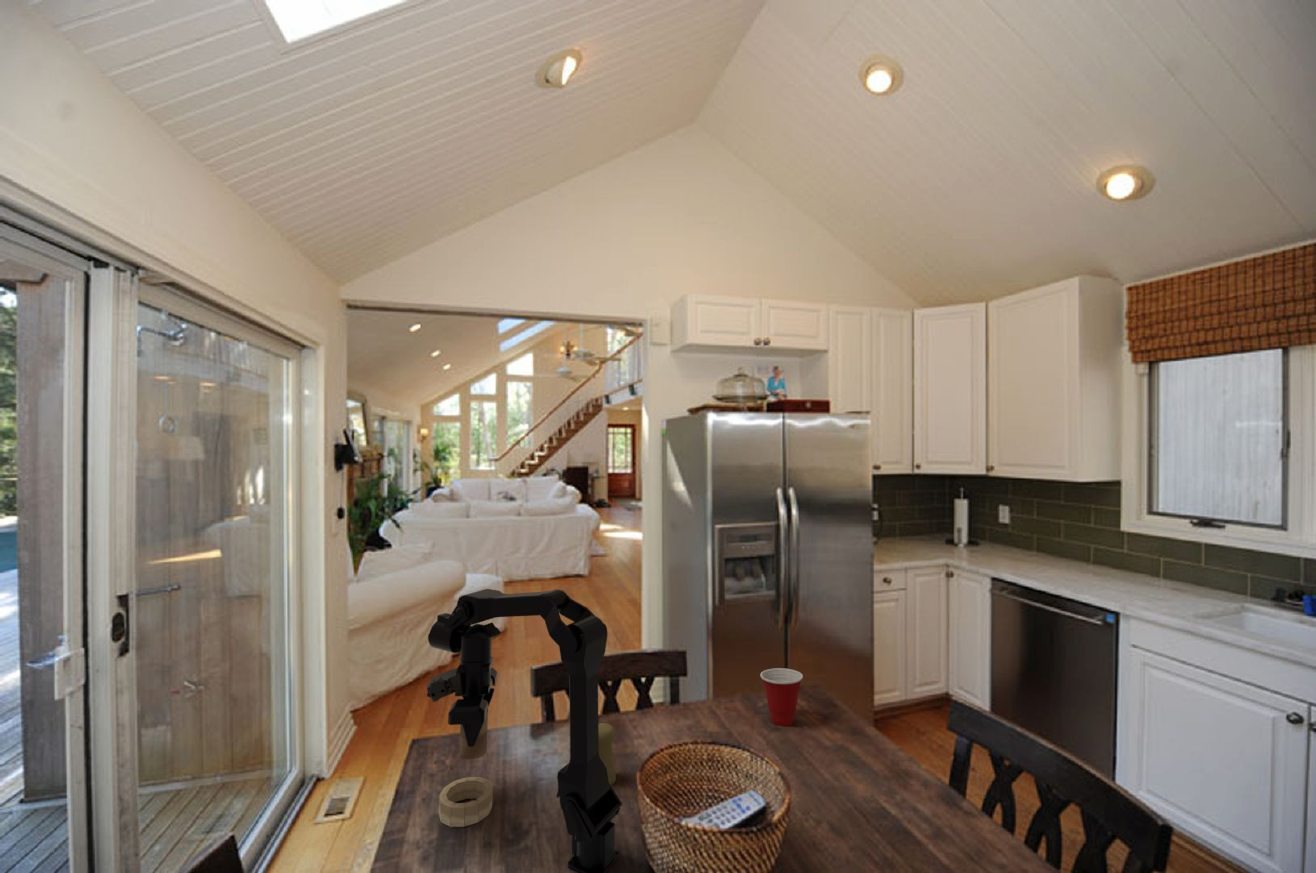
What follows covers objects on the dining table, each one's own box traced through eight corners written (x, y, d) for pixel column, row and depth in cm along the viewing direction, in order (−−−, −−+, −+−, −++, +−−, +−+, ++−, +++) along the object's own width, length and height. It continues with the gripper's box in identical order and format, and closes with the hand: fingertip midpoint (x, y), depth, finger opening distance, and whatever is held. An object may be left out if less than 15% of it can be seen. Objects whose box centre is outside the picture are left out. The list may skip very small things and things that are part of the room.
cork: (611, 789, 112) (612, 734, 112) (583, 785, 113) (583, 731, 113) (619, 772, 118) (619, 720, 118) (592, 769, 119) (593, 717, 119)
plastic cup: (777, 706, 149) (777, 662, 150) (811, 721, 141) (811, 674, 141) (751, 718, 142) (751, 671, 143) (785, 735, 134) (785, 685, 135)
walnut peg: (492, 749, 107) (493, 702, 107) (472, 762, 102) (473, 713, 103) (474, 742, 109) (475, 696, 109) (453, 754, 105) (455, 706, 105)
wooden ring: (501, 803, 107) (502, 785, 107) (464, 833, 99) (464, 813, 99) (467, 789, 111) (467, 772, 111) (428, 816, 103) (428, 797, 103)
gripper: (443, 641, 114) (440, 717, 114) (418, 679, 96) (416, 769, 95) (498, 639, 116) (496, 714, 115) (485, 675, 97) (482, 765, 97)
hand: (473, 738), depth 106 cm, fingers closed on walnut peg, 5 cm apart
